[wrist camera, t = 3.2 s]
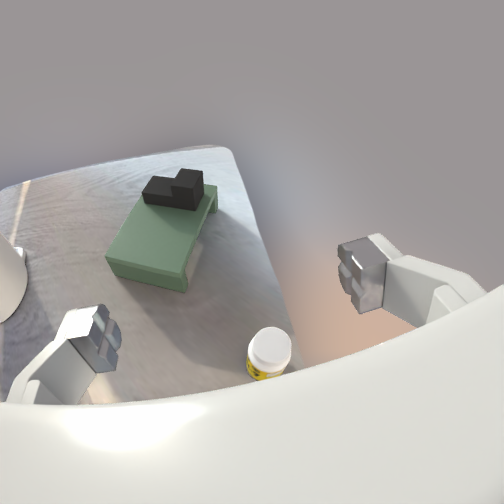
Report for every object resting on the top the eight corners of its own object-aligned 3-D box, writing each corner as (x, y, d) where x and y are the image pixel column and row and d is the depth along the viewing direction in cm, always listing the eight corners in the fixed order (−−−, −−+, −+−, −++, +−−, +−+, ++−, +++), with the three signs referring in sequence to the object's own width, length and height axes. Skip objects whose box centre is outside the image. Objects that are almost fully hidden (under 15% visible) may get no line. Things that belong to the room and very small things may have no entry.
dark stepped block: (144, 203, 45) (138, 181, 41) (155, 186, 48) (150, 165, 44) (195, 211, 44) (193, 188, 41) (204, 193, 47) (202, 170, 43)
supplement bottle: (240, 355, 36) (241, 330, 29) (274, 344, 37) (284, 316, 30) (253, 389, 33) (259, 372, 27) (289, 376, 34) (303, 356, 28)
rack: (114, 275, 42) (104, 255, 38) (157, 198, 53) (153, 177, 49) (184, 293, 41) (179, 273, 37) (218, 207, 52) (217, 185, 48)
